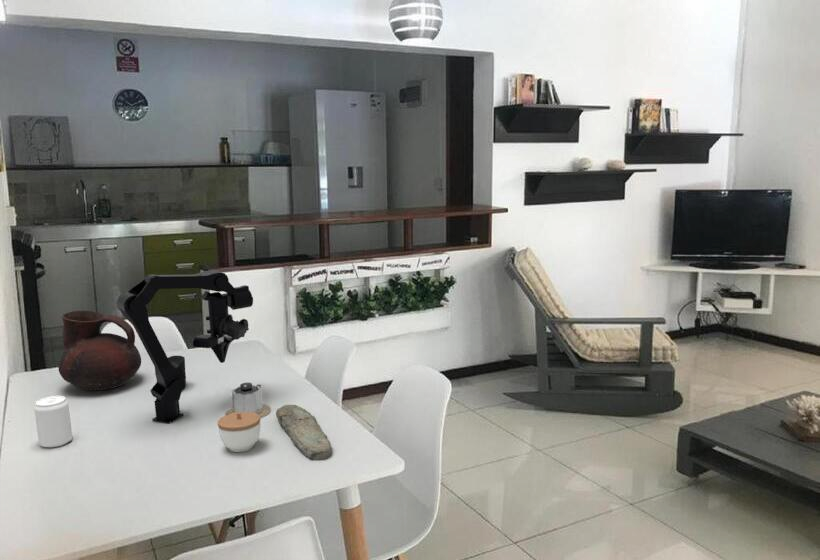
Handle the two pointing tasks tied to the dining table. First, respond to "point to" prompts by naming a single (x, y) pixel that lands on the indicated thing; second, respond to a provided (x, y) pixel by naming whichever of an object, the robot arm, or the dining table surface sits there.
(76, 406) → the dining table surface
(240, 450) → the lidded jar
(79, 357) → the jug
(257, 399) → the moka pot
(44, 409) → the beverage can
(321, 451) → the long grey stone
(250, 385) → the dark round knob
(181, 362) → the pen holder
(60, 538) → the dining table surface
